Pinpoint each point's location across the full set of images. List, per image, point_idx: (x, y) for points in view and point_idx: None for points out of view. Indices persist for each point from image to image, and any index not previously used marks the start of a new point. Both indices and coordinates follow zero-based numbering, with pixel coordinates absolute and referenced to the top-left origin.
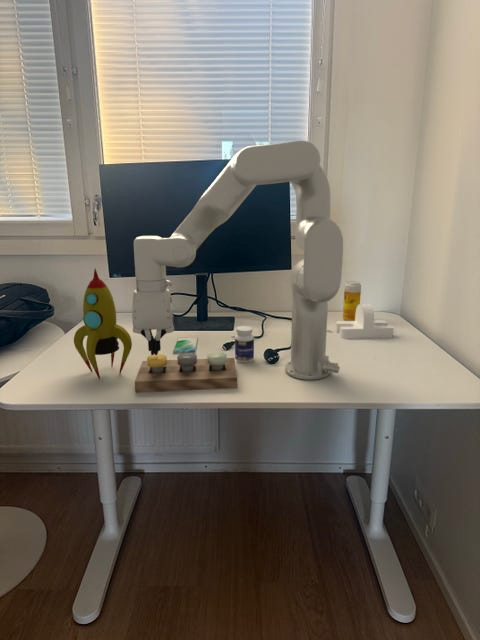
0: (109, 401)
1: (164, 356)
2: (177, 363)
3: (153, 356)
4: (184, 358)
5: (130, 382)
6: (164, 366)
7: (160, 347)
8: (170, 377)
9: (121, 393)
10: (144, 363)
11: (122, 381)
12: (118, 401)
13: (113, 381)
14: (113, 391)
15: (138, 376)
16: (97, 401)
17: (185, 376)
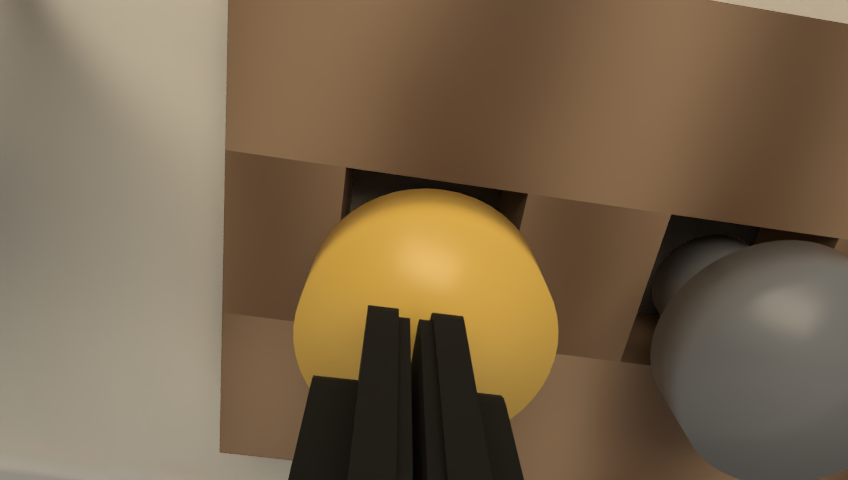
0: (88, 467)
1: (530, 331)
2: (665, 129)
3: (382, 299)
4: (755, 441)
5: (173, 204)
6: (504, 184)
7: (503, 410)
8: (525, 441)
9: (142, 379)
10: (265, 28)
11: (92, 165)
12: (150, 477)
13: (3, 145)
14: (69, 337)
15: (239, 366)
16: (3, 452)
17: (653, 448)
